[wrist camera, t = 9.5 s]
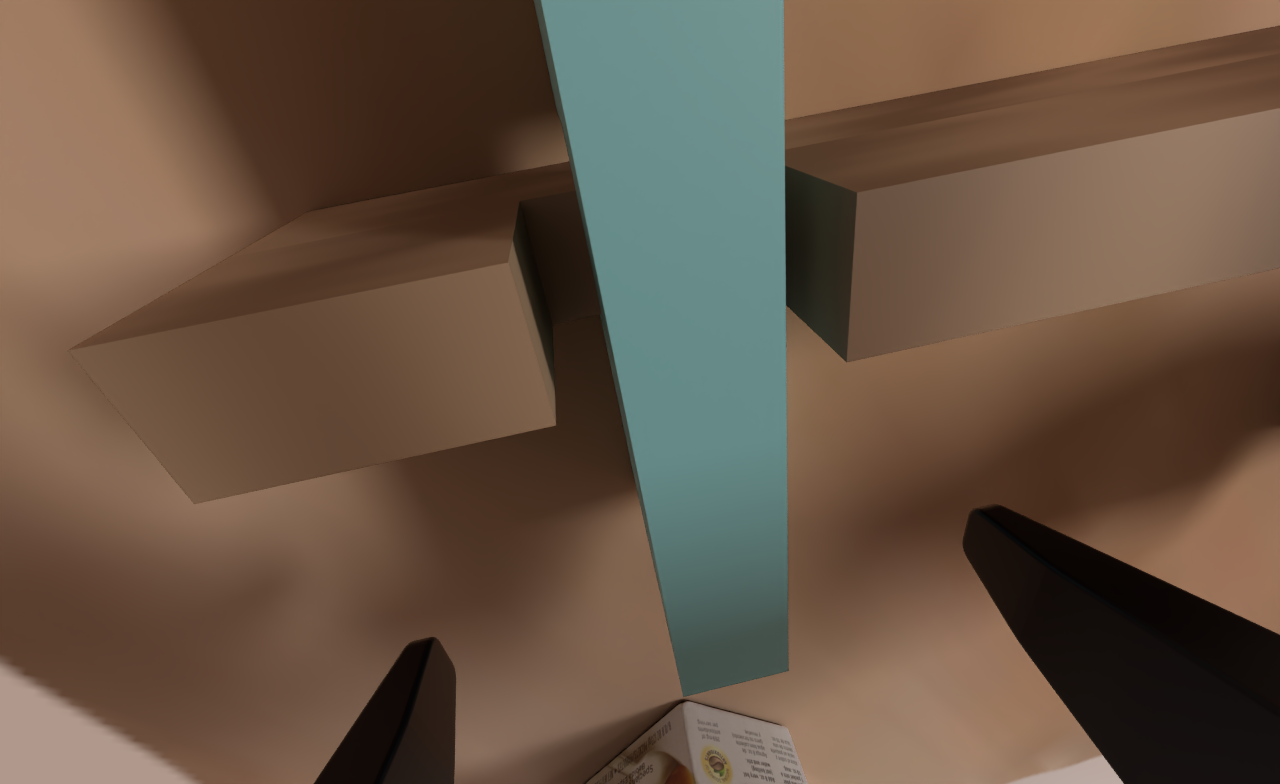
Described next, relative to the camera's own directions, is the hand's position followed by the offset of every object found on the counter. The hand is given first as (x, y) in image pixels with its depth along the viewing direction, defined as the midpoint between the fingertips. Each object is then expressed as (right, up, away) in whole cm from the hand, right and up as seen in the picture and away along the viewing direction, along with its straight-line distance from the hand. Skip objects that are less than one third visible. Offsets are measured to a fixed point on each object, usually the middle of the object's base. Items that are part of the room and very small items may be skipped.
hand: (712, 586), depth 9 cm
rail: (+3, +8, +2) cm, 9 cm away
